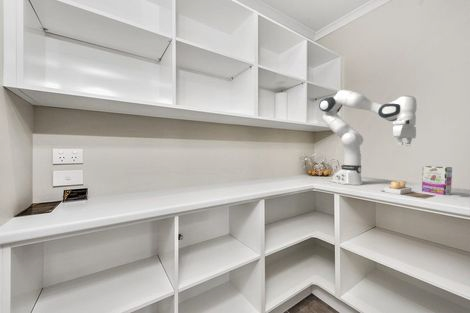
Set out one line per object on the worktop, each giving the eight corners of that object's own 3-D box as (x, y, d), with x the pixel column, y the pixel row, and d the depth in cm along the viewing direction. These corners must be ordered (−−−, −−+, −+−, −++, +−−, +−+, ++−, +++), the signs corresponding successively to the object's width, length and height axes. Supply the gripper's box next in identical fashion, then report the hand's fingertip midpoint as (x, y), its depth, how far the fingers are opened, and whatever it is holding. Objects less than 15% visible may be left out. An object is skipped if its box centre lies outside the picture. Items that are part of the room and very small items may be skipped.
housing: (384, 191, 112) (384, 181, 112) (396, 189, 119) (396, 179, 119) (400, 194, 106) (400, 183, 106) (411, 192, 112) (411, 181, 112)
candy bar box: (451, 196, 106) (453, 167, 106) (445, 197, 105) (446, 167, 105) (427, 192, 117) (428, 165, 117) (421, 192, 116) (422, 165, 116)
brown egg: (397, 193, 108) (398, 182, 108) (389, 191, 112) (389, 181, 111) (401, 192, 110) (401, 182, 110) (392, 191, 114) (393, 181, 113)
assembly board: (379, 192, 114) (379, 191, 114) (392, 190, 121) (392, 188, 121) (424, 200, 97) (424, 198, 96) (436, 197, 104) (436, 195, 104)
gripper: (407, 124, 125) (406, 145, 125) (391, 122, 116) (389, 144, 116) (420, 123, 119) (418, 145, 120) (404, 120, 110) (402, 144, 111)
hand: (404, 145), depth 118 cm, fingers open, 8 cm apart
